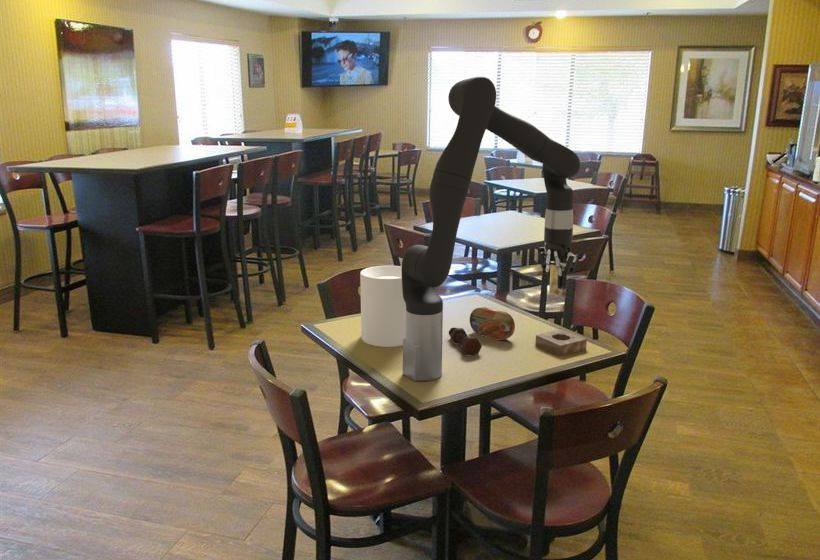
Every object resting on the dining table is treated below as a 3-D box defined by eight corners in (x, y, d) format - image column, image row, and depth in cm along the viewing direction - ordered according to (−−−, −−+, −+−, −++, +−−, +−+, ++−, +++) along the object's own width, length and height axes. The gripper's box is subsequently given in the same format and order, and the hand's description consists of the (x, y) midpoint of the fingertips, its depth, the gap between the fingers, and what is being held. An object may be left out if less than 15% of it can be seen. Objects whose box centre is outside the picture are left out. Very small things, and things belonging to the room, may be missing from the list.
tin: (468, 331, 200) (469, 305, 198) (474, 329, 203) (475, 303, 200) (509, 343, 190) (510, 315, 188) (515, 341, 193) (517, 313, 191)
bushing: (555, 294, 180) (556, 266, 178) (546, 291, 183) (547, 263, 181) (565, 292, 182) (566, 264, 180) (556, 289, 185) (557, 261, 183)
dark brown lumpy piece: (455, 343, 196) (474, 360, 182) (441, 337, 194) (460, 352, 180) (464, 326, 196) (484, 341, 181) (451, 319, 194) (470, 334, 180)
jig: (560, 355, 181) (560, 345, 180) (535, 344, 189) (535, 335, 188) (586, 349, 186) (586, 339, 185) (561, 338, 194) (561, 329, 193)
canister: (369, 349, 185) (368, 281, 180) (355, 331, 200) (354, 267, 195) (422, 343, 190) (423, 276, 185) (405, 326, 205) (405, 264, 200)
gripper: (530, 223, 181) (528, 283, 186) (567, 231, 170) (564, 294, 174) (550, 220, 185) (548, 278, 190) (588, 227, 174) (584, 290, 178)
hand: (556, 286), depth 182 cm, fingers closed on bushing, 3 cm apart
